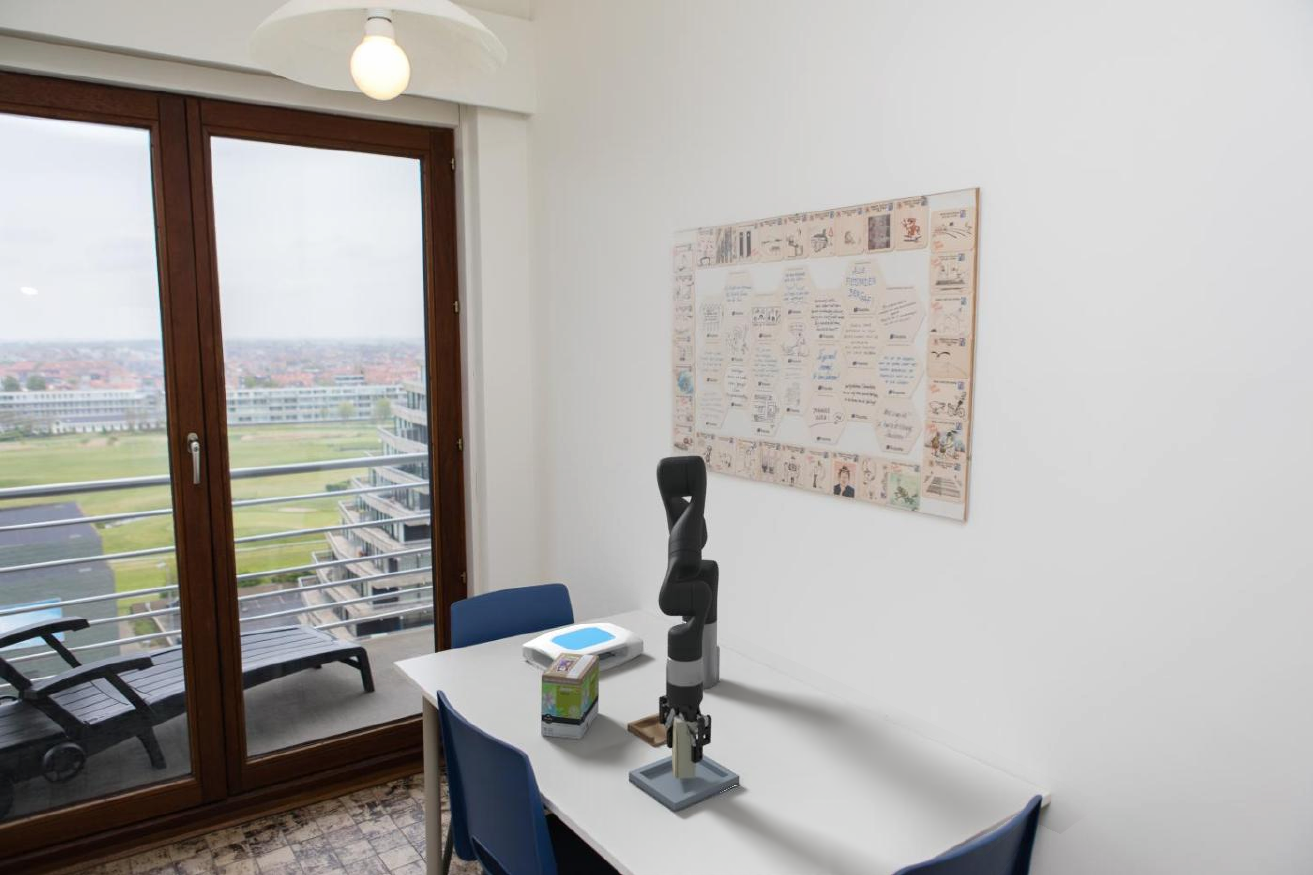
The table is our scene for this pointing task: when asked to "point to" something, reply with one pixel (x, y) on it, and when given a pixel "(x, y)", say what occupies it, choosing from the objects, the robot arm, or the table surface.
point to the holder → (649, 730)
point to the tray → (682, 782)
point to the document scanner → (584, 644)
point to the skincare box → (682, 749)
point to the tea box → (569, 695)
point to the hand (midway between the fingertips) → (684, 754)
